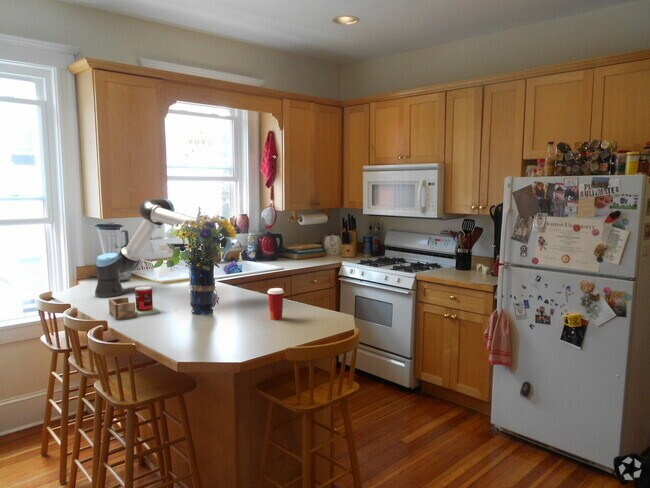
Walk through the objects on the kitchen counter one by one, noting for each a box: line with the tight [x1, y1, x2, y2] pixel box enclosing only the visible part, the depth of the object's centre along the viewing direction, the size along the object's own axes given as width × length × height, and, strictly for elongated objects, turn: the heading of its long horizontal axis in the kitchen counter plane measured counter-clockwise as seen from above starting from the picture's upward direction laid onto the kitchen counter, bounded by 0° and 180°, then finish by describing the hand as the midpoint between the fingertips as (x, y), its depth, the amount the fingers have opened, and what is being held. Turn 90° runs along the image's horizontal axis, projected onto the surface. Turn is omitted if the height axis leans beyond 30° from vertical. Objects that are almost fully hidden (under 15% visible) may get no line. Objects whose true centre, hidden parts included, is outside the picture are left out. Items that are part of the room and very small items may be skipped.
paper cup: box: [267, 287, 285, 321], centre depth 235 cm, size 8×8×14 cm
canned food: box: [134, 285, 154, 311], centre depth 248 cm, size 8×8×11 cm
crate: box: [108, 296, 161, 320], centre depth 245 cm, size 20×14×7 cm
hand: (162, 249), depth 256 cm, fingers open, 13 cm apart
